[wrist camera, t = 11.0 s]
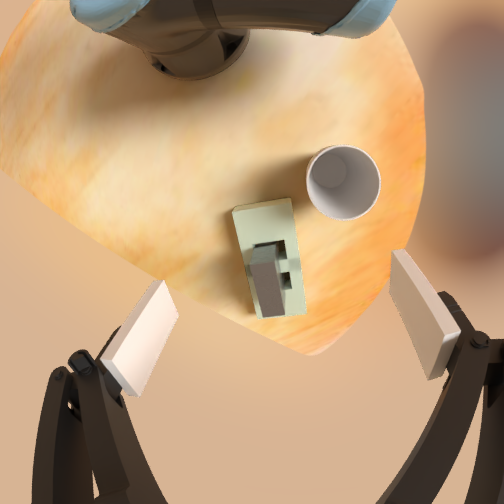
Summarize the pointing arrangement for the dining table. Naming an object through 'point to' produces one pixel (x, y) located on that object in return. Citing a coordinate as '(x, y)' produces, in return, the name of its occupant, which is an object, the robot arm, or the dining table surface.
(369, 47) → the dining table surface
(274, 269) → the grey foam block
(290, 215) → the block with rectangular hole
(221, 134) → the dining table surface
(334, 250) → the dining table surface
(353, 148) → the cup
